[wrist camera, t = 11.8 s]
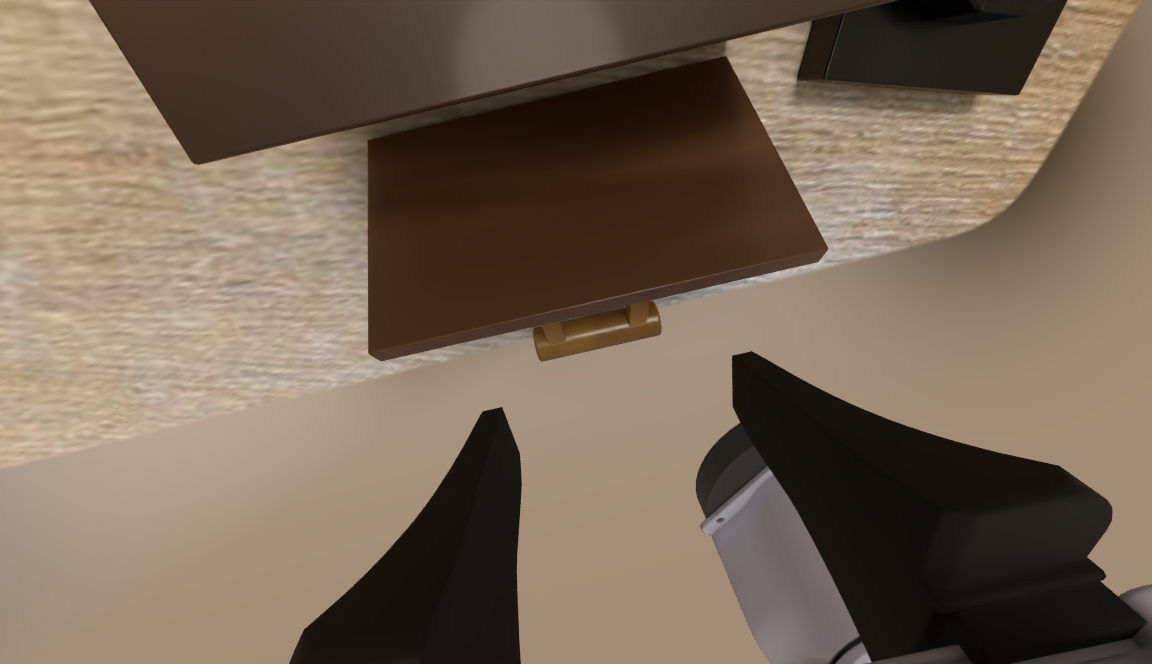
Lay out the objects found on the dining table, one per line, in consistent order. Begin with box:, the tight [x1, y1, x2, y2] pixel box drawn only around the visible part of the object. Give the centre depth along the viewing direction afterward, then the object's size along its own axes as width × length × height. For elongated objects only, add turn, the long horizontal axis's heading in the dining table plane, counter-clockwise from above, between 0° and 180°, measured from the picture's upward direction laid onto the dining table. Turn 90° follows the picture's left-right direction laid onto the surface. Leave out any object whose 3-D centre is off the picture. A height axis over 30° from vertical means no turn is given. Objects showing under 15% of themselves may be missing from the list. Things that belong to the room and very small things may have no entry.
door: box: [368, 56, 828, 361], centre depth 16 cm, size 6×13×8 cm
